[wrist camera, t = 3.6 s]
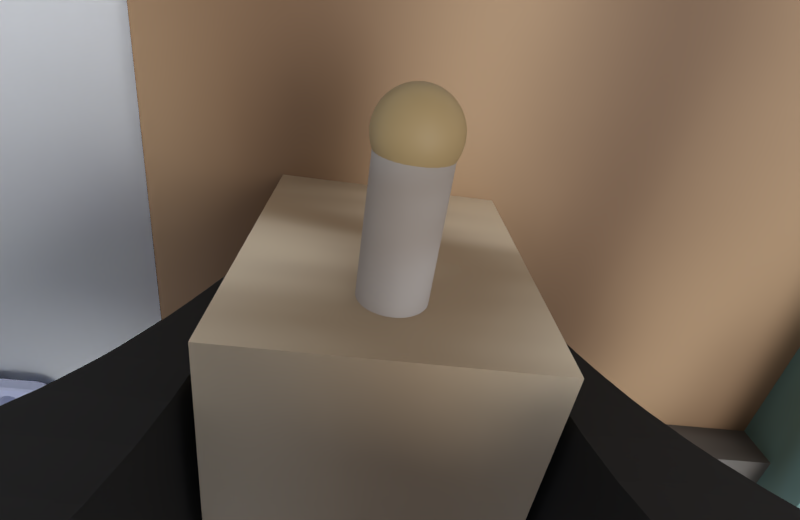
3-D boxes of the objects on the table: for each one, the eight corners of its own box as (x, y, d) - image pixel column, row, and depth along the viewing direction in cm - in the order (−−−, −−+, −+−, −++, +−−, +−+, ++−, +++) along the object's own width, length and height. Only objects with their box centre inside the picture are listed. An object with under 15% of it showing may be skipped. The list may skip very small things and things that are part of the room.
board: (193, 374, 13) (134, 488, 10) (154, -134, 8) (12, -213, 5) (741, 421, 15) (835, 534, 12) (1004, 16, 10) (1297, 27, 6)
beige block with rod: (275, 438, 12) (215, 682, 8) (287, 27, 8) (165, 68, 4) (430, 450, 13) (454, 689, 8) (525, 63, 8) (682, 141, 4)
